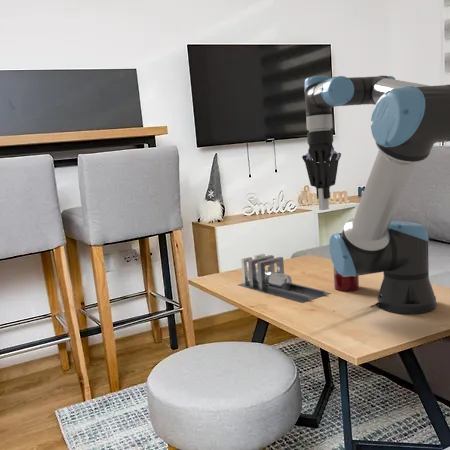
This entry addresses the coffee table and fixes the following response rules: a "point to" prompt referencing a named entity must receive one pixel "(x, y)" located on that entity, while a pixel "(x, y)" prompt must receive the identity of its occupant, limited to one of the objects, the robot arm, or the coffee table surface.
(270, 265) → the gray roller rack tray
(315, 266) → the coffee table surface
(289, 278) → the tube
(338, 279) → the soda can
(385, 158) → the robot arm
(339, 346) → the coffee table surface
